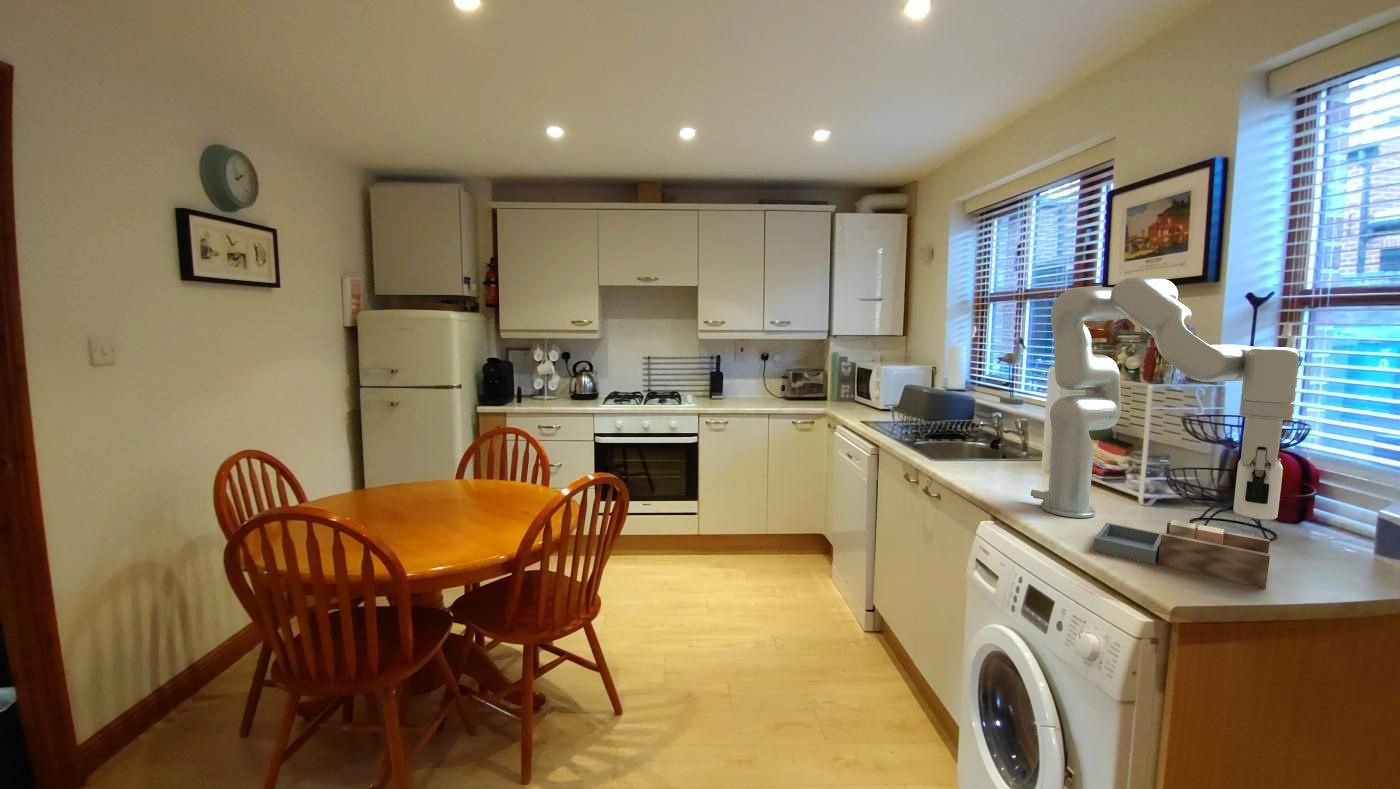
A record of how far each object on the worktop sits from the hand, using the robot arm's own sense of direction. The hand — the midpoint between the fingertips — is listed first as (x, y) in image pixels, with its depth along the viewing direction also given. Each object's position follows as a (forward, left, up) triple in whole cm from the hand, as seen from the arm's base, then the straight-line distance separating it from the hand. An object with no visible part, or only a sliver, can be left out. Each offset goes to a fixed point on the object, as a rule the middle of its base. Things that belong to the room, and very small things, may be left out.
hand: (1256, 497), depth 117 cm
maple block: (-11, 0, -12) cm, 16 cm away
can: (0, 0, -4) cm, 4 cm away
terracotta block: (-6, 0, -12) cm, 14 cm away
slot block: (-5, 0, -16) cm, 17 cm away
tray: (-20, 0, -16) cm, 25 cm away
